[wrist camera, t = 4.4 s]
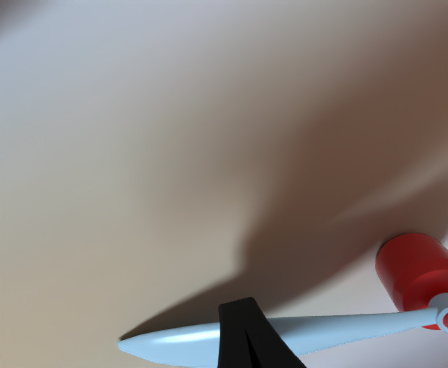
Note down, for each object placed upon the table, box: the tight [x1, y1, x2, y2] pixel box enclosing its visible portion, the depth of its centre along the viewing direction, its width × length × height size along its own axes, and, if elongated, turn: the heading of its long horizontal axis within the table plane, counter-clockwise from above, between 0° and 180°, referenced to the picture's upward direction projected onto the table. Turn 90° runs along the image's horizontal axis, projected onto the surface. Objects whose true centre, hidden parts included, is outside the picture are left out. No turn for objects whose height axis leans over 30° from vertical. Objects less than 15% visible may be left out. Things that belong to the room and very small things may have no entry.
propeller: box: [117, 233, 448, 368], centre depth 12 cm, size 4×25×4 cm, turn 102°
